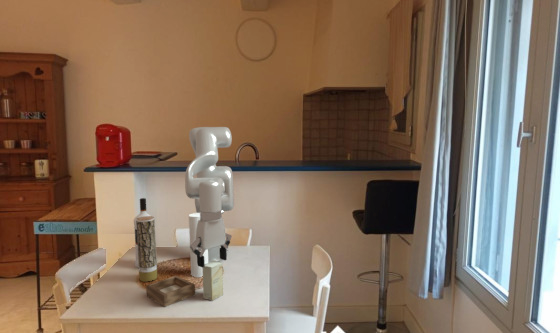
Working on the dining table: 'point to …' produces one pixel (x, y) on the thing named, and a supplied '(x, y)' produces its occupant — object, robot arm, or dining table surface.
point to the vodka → (142, 214)
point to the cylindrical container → (196, 269)
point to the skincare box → (212, 280)
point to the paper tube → (146, 248)
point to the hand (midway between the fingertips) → (212, 262)
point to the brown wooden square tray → (170, 290)
